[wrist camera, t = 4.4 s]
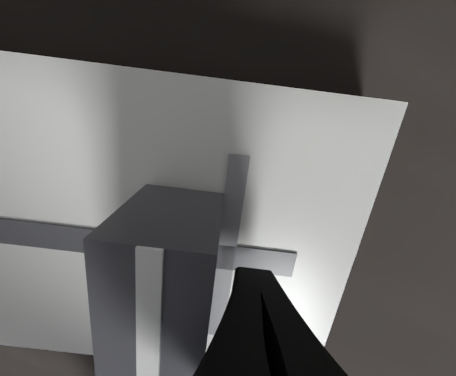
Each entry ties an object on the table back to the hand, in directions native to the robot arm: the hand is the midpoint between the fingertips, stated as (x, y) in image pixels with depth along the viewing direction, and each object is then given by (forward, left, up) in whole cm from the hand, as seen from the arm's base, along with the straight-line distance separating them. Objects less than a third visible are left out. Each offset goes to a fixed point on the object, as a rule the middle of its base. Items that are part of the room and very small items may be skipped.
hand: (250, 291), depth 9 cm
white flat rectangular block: (0, +8, -5) cm, 9 cm away
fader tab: (0, +3, -2) cm, 3 cm away
